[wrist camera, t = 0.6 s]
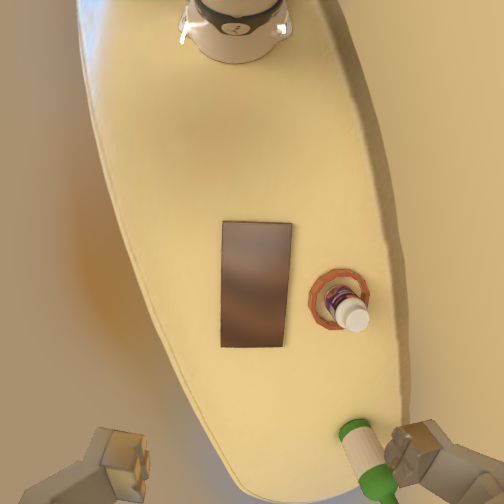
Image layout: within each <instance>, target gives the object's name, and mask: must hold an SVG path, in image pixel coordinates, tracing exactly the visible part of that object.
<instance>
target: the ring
mask: <svg viewBox="0 0 504 504" xmlns="http://www.w3.org/2000/svg"><path fill="white" fill-rule="evenodd" d="M336 277H352V278H354V279H355V280H357V281H358V283H359V285H360V288H361V290H362V295H361V300H362V301H363V302H364V304H365V305H366V309H367V308H368V302H369V296H370V293H369V290H368V287H367V285H366V282H365V280H364V279H362V278H361V277H360V276H358V275H357V274H355V273H354V272H352V271H351V270H349V269H333V270H332V271H330V272H328V273H326V274H324V275H322V276H321V277H320V278H319V279H318V280H317V281H316V283H315V284H314V286H313V287H312V289H311V290H310V294H309V303H308V307H309V309H310V311H311V313H312V315H313V317H314V319H315V321H316V323H317V324H319V325H321V326H323V327H325V328H326V329H328V330H343V329H345V328H342V327H341V326H339V324H338V323H337V322H327V321H325V320H324V319H322V318H320V317H319V316H318V314H317V312H316V310H315V306H316V298H317V294H318V293H319V292H320V290H321V289H322V287H323V286H324V284H325V283H327V282H329V281H331V280H333V279H334V278H336Z"/></svg>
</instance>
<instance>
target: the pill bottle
mask: <svg viewBox="0 0 504 504" xmlns="http://www.w3.org/2000/svg"><path fill="white" fill-rule="evenodd" d="M324 302H325V306H326V308H327V310H328V311H329V312H330V314H331V315H332V316H333V318H334V319H335V321H336V322H337V323H338V324H339V326H341V327H342V328H345V329H348V330H349V331H351V332H354V333H356V332H360V331H362V330H364V329H365V328H366V327H367V325H368V323H369V320H370V317H369V314H368V312H367V309H366V305H365V304H364V302H363V301H362V300H361V299H360V298H359V297H358V296H357V295H356V294H355V293H354V292H353V291H352V290H351V289H349V288H348V287H347V286H344V285H336V286H334V287H332V288H331V289H330V290H329V291H328V292H327V293H326V295H325V299H324Z"/></svg>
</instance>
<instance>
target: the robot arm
mask: <svg viewBox="0 0 504 504" xmlns="http://www.w3.org/2000/svg"><path fill="white" fill-rule="evenodd" d="M186 21H187V22H186ZM285 25H286V26H285ZM178 27H179V31H180V32H181V33H182V37H181V40H180V43H182V44H183V41H184V37H185V36H187V37H189V38H191V39H192V40H193V41H194V43H195V44H196V45H197V47H198V48H199V49H200V50H201V51H202V52H203V53H204V54H205V55H207V56H208V57H210V58H212V59H214V60H217V61H220V62H224V63H232V64H238V63H246V62H250V61H253V60H256V59H258V58H260V57H262V56H264V55H265V54H266V53H268V52H269V51H270V50H271V49H272V48H273V46H274V45H275V44H276V43H278V42H279V41H282V40H284V39H286V38H288V37H290V36H291V34H292V25H291V21H290V17H289V13H288V9H287V5H286V1H285V0H187V5H186V7H185V10H184V12H183V15H182V17H181V20H180V22H179V26H178ZM391 436H392V438H393V439H392V440H391V441H390V442H389V443H388V444H387V446H386V448H385V451H384V458H385V462H386V464H387V466H388V467H389V468H390V469H392V470H394V473H393V477H394V479H395V481H396V483H397V484H398V486H399V488H402V487H406V486H410V485H413V484H417V483H419V484H420V485H422V486H423V487H425V488H426V489H428V490H429V491H431V492H432V493H434V494H435V495H437V496H439V497H440V498H442V499H443V500H445V501H446V502H448V503H450V504H504V463H503V462H501V461H499V460H496V459H493V458H490V457H488V456H485V455H483V454H480V453H478V452H475V451H473V450H470V449H468V448H466V447H463V446H460V445H458V444H455V445H454V444H453V443H452V442H451V440H450V439H449V438H448V437H447V436H446V434H445V433H444V432H443V431H442V429H441V428H440V427H439V426H438V424H437V423H436V422H435V421H434V420H432V419H430V420H426V421H422V422H418V423H413V424H409V425H405V426H400V427H397V428H395V429H394V431H393V433H392V435H391ZM146 445H147V440H146V436H145V435H141V434H135V433H128V432H124V431H118V430H113V429H108V428H103V427H99V428H97V429H96V431H95V433H94V436H93V438H92V440H91V442H90V445H89V447H88V449H87V452H86V454H85V457H84V459H83V461H77V462H75V463H73V464H71V465H70V466H68V467H66V468H65V469H63V470H61V471H59V472H57V473H56V474H54V475H52V476H50V477H48V478H47V479H45V480H43V481H41V482H39V483H37V484H35V485H34V486H32V487H30V488H28V489H26V490H25V491H24V493H23V495H22V497H21V499H20V501H19V503H18V504H114V503H115V502H116V501H117V500H123V501H128V502H135V503H144V498H145V493H146V485H145V480H146V479H148V477H149V471H150V456H149V452H148V451H147V450H146Z"/></svg>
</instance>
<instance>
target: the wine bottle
mask: <svg viewBox="0 0 504 504" xmlns="http://www.w3.org/2000/svg"><path fill="white" fill-rule="evenodd" d="M339 438H340V441H341V443H342V446H343V448H344V450H345V452H346V455H347V457H348V459H349V462H350V464H351V466H352V469H353V471H354V473H355V476H356V478H357V480H358V482H359V484H360V487H361V489H362V491H363V493H364V495H365V496H366V497H367V498H369V499H371V500H374V501H380V503H381V504H399V503H398V501H397V499H396V497H395V495H394V494H395V492H396V490H397V488H398V484H397V483H396V481H395V479H394V477H393V473H394V470H392V469H390V468H389V467H388V466H387V464H386V462H385V458H384V449H383V447H382V446H381V444H380V442H379V440H378V438H377V437H376V435H375V433H374V431H373V430H372V428H371V426H370V424H369V423H368V422H367V421H365V420H360V419H359V420H354V421H351V422H349V423H347V424H346V425H345V426H344V427H343V428H342V429H341V431H340V434H339Z"/></svg>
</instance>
